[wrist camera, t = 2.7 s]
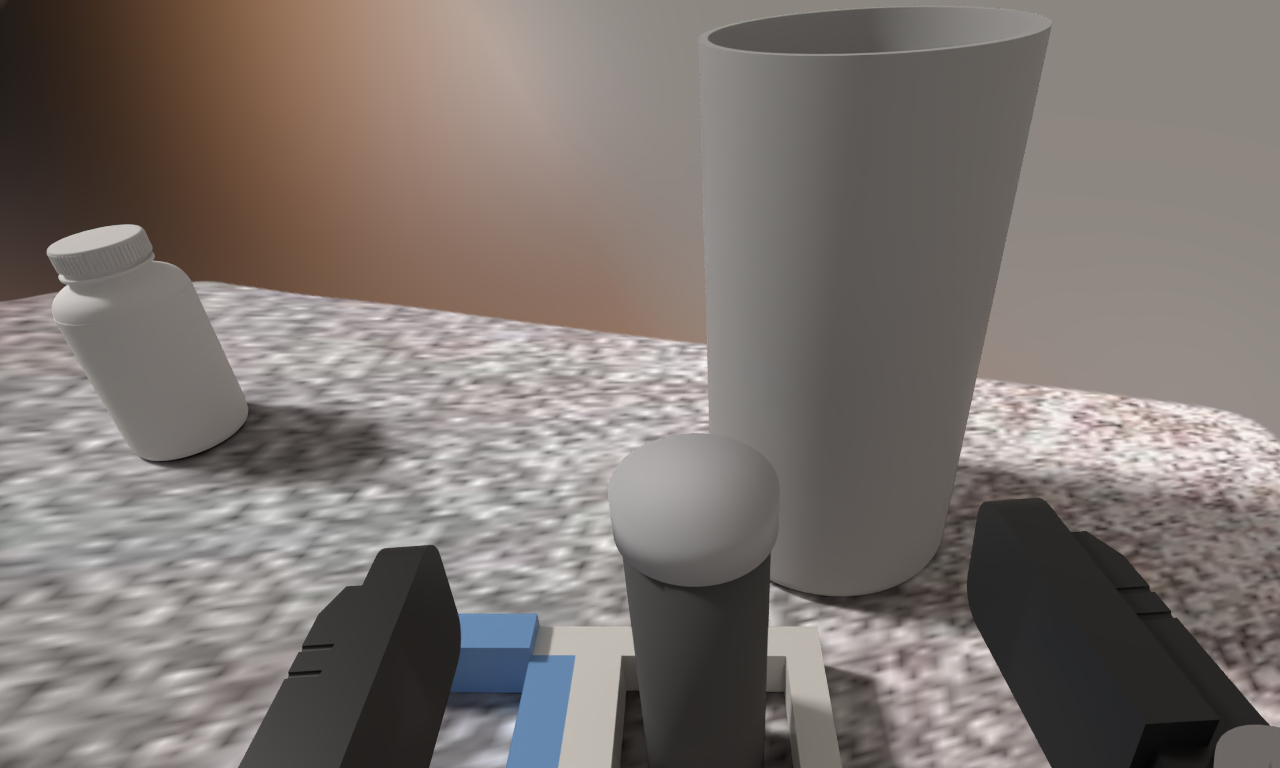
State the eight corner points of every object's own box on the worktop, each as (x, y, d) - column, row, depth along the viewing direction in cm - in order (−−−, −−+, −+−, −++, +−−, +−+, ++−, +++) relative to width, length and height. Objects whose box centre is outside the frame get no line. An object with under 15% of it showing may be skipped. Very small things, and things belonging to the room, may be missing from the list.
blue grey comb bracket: (847, 862, 26) (854, 816, 24) (292, 846, 28) (262, 802, 26) (813, 659, 33) (817, 613, 31) (372, 657, 35) (353, 613, 33)
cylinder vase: (983, 511, 40) (1109, 8, 26) (856, 649, 33) (937, 66, 19) (799, 424, 48) (823, 4, 34) (666, 520, 41) (631, 45, 28)
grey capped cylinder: (707, 862, 26) (693, 577, 18) (619, 764, 29) (573, 487, 21) (794, 767, 29) (815, 482, 21) (704, 687, 32) (692, 414, 24)
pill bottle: (216, 390, 57) (131, 209, 49) (272, 418, 53) (189, 226, 45) (112, 443, 52) (-3, 250, 44) (165, 478, 48) (49, 273, 40)
